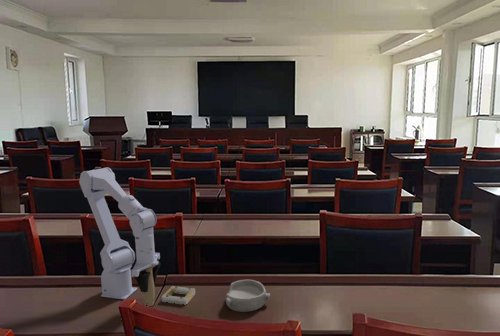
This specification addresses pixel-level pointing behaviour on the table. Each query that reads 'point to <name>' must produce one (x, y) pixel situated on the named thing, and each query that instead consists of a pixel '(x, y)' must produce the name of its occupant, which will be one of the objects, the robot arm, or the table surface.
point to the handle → (149, 289)
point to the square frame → (179, 290)
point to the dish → (246, 295)
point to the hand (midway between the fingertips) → (148, 288)
